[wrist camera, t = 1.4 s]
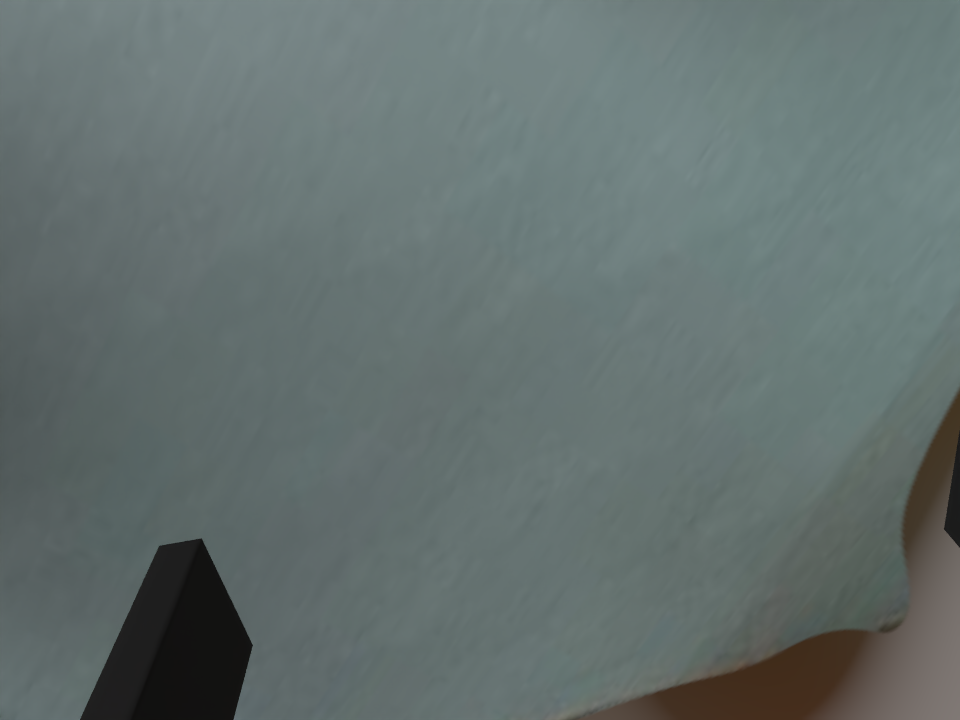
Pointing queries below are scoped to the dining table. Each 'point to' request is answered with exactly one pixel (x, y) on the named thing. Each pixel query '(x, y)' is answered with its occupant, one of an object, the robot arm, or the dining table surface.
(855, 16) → the dining table surface
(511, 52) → the dining table surface
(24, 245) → the dining table surface
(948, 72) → the dining table surface
